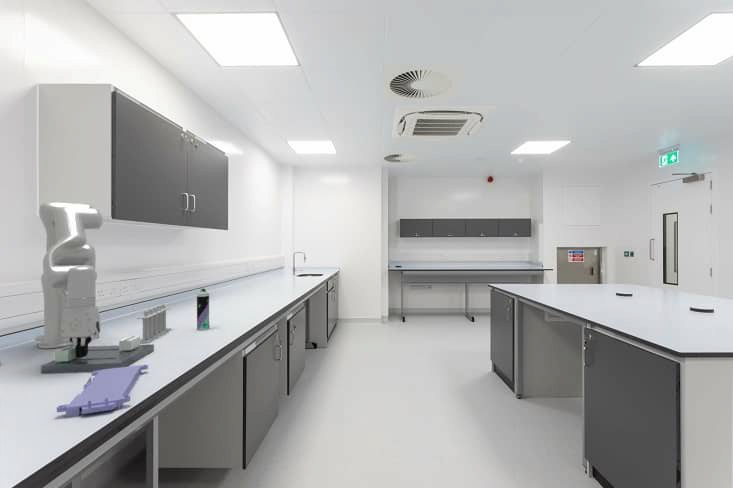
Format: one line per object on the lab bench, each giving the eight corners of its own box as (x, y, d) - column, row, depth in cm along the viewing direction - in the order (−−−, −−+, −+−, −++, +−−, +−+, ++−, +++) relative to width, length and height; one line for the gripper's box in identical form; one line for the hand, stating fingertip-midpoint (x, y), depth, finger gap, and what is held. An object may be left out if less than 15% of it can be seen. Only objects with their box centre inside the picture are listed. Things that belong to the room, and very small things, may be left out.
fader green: (54, 361, 116) (54, 350, 116) (68, 356, 122) (68, 345, 122) (67, 361, 117) (67, 350, 117) (80, 355, 123) (80, 345, 123)
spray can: (197, 330, 170) (197, 289, 170) (196, 328, 175) (196, 288, 175) (209, 329, 172) (209, 288, 173) (208, 327, 177) (208, 287, 177)
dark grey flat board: (41, 373, 114) (41, 365, 114) (88, 352, 135) (88, 346, 135) (120, 370, 116) (120, 362, 116) (154, 350, 138) (153, 344, 138)
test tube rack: (148, 343, 149) (148, 312, 149) (136, 344, 148) (136, 312, 148) (170, 329, 173) (170, 302, 173) (161, 330, 173) (161, 303, 173)
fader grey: (119, 350, 129) (119, 340, 129) (128, 345, 135) (128, 336, 135) (130, 350, 129) (130, 340, 129) (139, 345, 135) (139, 335, 135)
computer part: (51, 423, 82) (127, 411, 88) (51, 405, 82) (127, 394, 88) (93, 379, 110) (148, 372, 115) (93, 365, 110) (148, 359, 115)
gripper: (49, 305, 116) (49, 361, 115) (97, 304, 117) (97, 359, 117) (66, 301, 123) (66, 354, 123) (111, 300, 124) (111, 352, 124)
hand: (81, 356), depth 120 cm, fingers closed
